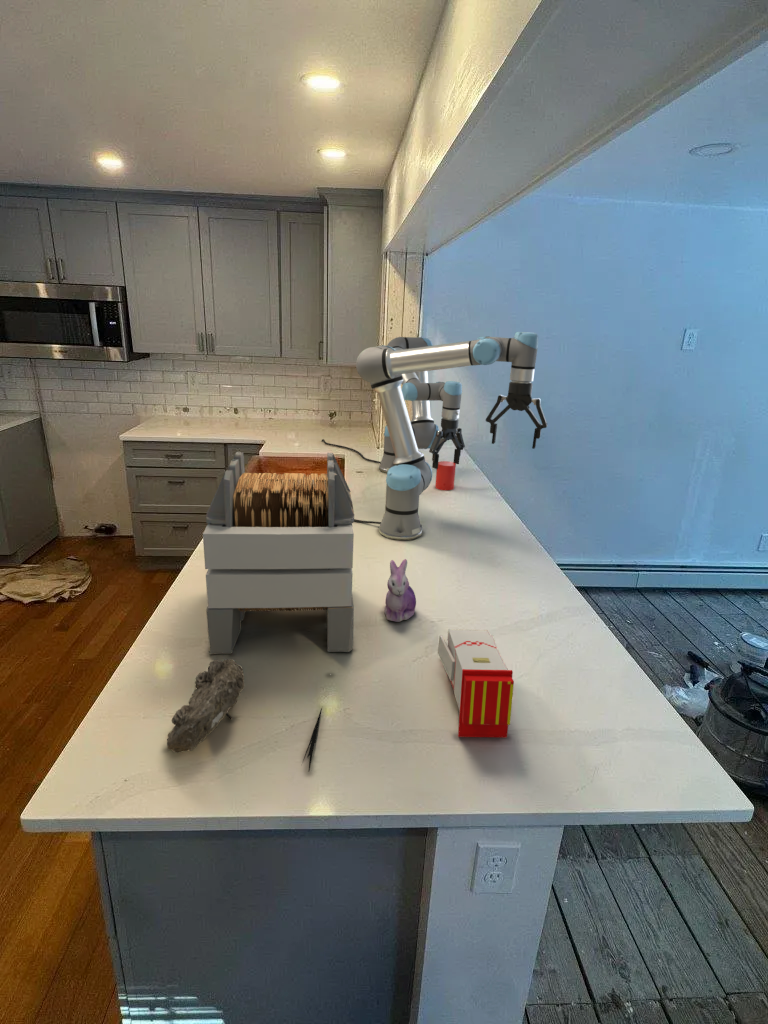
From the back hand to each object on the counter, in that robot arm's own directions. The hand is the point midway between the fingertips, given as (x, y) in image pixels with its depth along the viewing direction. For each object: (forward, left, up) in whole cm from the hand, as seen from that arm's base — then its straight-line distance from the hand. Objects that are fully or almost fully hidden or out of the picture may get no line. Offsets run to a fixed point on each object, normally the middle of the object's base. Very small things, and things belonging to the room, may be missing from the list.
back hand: (445, 465), depth 251 cm
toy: (+104, -101, -10) cm, 145 cm away
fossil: (+79, -146, -10) cm, 167 cm away
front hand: (+52, -24, +23) cm, 61 cm away
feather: (+92, -131, -10) cm, 160 cm away
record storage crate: (+55, -116, -10) cm, 129 cm away
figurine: (+71, -92, -10) cm, 117 cm away
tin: (0, 0, -10) cm, 10 cm away
